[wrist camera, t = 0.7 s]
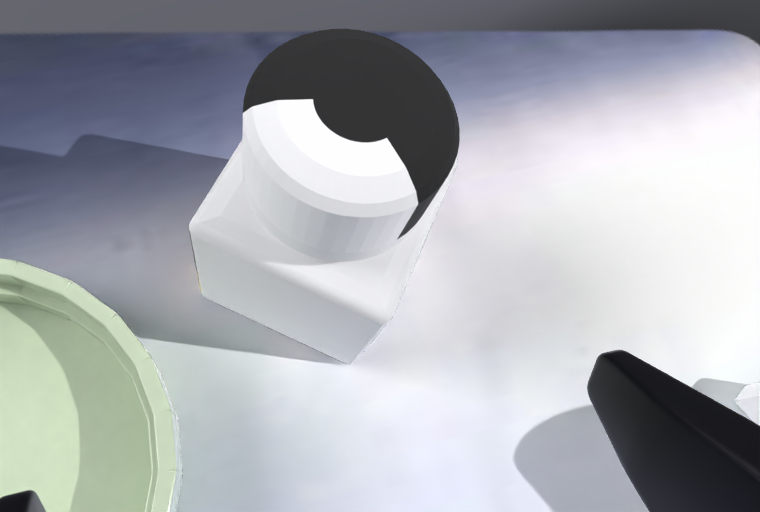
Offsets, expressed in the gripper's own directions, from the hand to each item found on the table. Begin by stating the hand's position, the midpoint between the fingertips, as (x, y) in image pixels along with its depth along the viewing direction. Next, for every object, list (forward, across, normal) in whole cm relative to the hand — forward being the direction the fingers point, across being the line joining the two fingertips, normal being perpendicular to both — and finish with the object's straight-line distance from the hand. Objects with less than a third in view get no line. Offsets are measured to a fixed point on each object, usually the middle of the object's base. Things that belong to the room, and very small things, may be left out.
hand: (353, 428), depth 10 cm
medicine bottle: (+15, -3, +9) cm, 18 cm away
